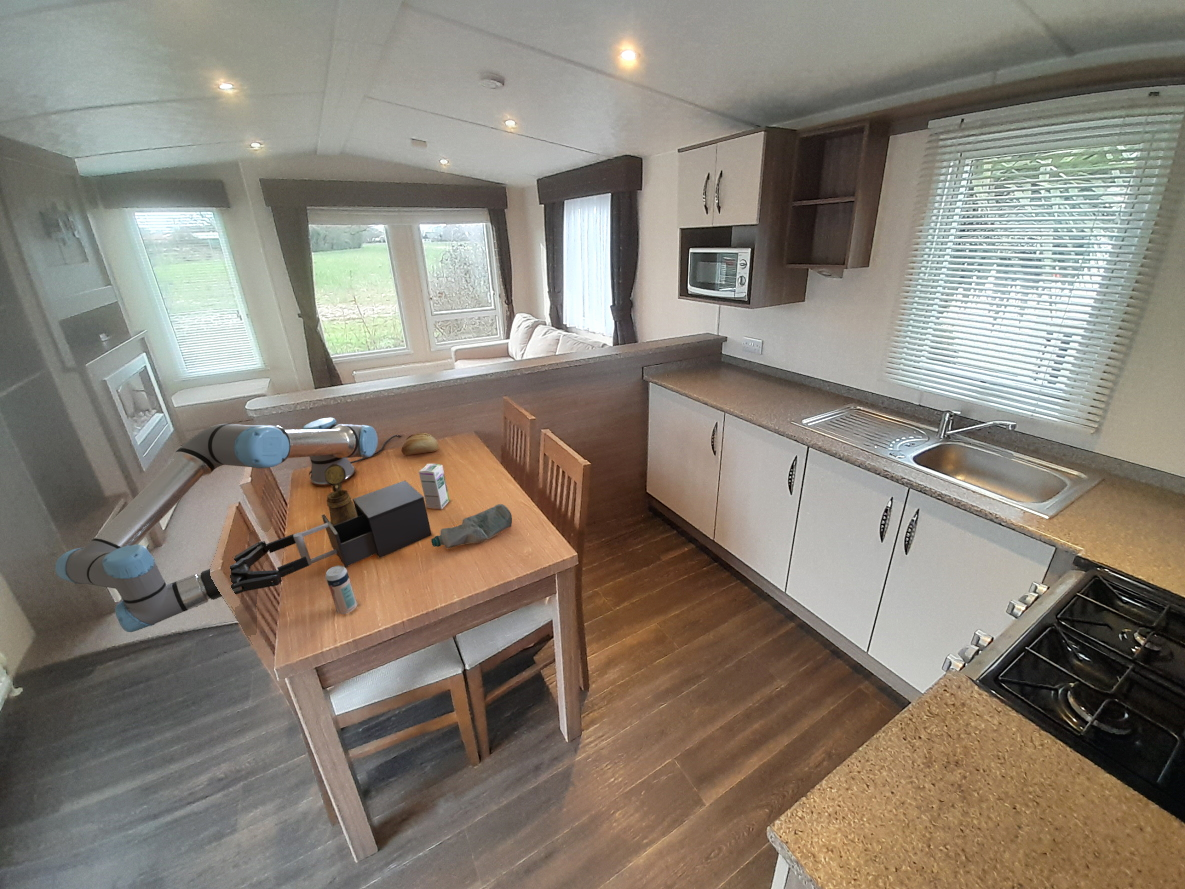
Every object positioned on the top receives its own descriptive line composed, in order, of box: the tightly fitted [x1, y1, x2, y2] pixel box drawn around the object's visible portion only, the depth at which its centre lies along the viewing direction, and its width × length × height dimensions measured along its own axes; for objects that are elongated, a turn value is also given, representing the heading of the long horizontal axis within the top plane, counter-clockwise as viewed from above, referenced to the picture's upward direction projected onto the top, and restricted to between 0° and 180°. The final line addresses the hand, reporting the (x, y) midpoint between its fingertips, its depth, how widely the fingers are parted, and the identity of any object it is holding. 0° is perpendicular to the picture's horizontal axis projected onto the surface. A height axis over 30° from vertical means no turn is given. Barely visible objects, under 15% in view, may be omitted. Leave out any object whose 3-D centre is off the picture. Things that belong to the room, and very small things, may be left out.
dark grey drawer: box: [293, 513, 377, 569], centre depth 136 cm, size 24×13×12 cm, turn 132°
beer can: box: [324, 565, 358, 615], centre depth 117 cm, size 5×5×12 cm
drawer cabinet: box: [352, 480, 433, 559], centre depth 144 cm, size 16×14×14 cm
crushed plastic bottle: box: [430, 503, 513, 550], centre depth 144 cm, size 13×7×25 cm
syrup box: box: [418, 463, 450, 510], centre depth 160 cm, size 6×6×14 cm
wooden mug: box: [325, 463, 357, 526], centre depth 153 cm, size 9×14×18 cm, turn 23°
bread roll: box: [400, 432, 440, 456], centre depth 200 cm, size 10×15×8 cm, turn 112°
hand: (301, 549), depth 129 cm, fingers open, 13 cm apart
